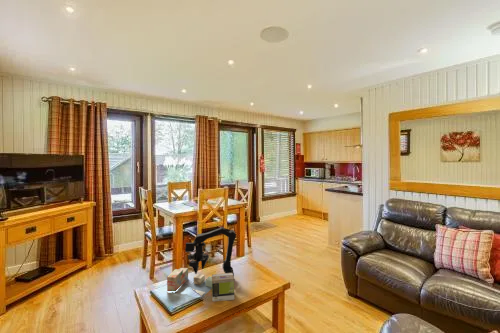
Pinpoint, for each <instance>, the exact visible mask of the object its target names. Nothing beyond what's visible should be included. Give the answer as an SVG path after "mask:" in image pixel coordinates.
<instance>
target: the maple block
mask: <svg viewBox="0 0 500 333" xmlns="http://www.w3.org/2000/svg"><path fill="white" fill-rule="evenodd" d="M205 277H206V276H205V274H202V273H201V274H200V273H197V274H195V276H193V282H194V284H198V285H201V284H202V283H203V282H205V281H206V278H205Z"/></svg>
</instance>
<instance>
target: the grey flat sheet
mask: <svg viewBox="0 0 500 333" xmlns="http://www.w3.org/2000/svg"><path fill="white" fill-rule="evenodd" d="M188 286H189V287H191V288H192V289H193V290H195V291H196V292H197V293H199V294H200V295H201V296H202V298H203V297H205V296H206V295H207V294H208V293H209V292H210V291H212V287H208V286H206V280H205V282H203V283H202V284H201V285H198V284H194V281H193V282H192V283H190V284H189V285H188Z"/></svg>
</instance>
